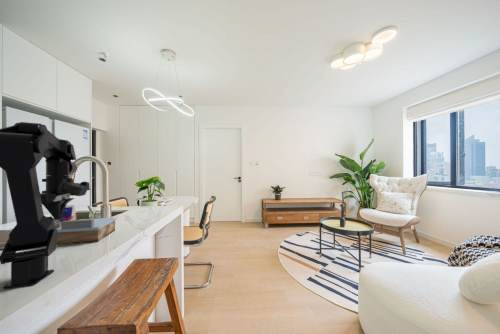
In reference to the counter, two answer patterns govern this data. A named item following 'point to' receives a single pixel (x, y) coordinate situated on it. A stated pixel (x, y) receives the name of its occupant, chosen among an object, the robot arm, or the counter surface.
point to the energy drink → (67, 214)
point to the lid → (84, 224)
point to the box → (85, 235)
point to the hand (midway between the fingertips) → (57, 219)
